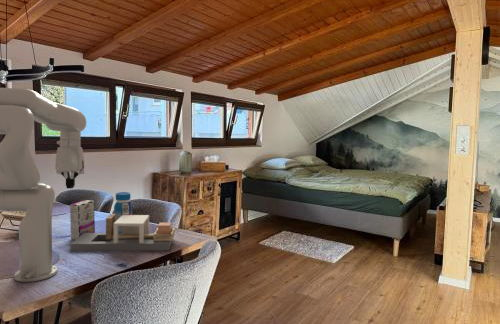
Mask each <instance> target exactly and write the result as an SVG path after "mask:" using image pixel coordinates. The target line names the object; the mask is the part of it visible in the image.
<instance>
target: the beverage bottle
mask: <svg viewBox="0 0 500 324" xmlns="http://www.w3.org/2000/svg"><path fill="white" fill-rule="evenodd" d="M130 200H131V192H127V191H122V192H120V191H119V192H115V204H114V206H113V208H114V210H113V214H116V221H117V220H118V219H119V218H120V217H121V216H122V215H133V209H132V206H133V205H132V203H131V202H130ZM118 233H122V226H118Z"/></svg>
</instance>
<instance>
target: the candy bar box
mask: <svg viewBox="0 0 500 324" xmlns="http://www.w3.org/2000/svg"><path fill="white" fill-rule="evenodd" d="M69 214H70V215H69V217H70V218H69V219H70V240H73V241H75V240H76V239H77V238H78V237H80V236H81V235H82V234H83V233H96V230H95V229H96V228H95V227H96V226H95V225H96V224H95V223H96V221H95V200H91V199H89V200H88V199H84V200H82V201H78V202H75V203H71V204H70V205H69Z"/></svg>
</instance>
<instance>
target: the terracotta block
mask: <svg viewBox="0 0 500 324" xmlns="http://www.w3.org/2000/svg"><path fill="white" fill-rule="evenodd" d="M157 228H158V234H171V228H172V222H159V223H158V225H157Z"/></svg>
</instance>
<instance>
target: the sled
mask: <svg viewBox="0 0 500 324" xmlns="http://www.w3.org/2000/svg"><path fill="white" fill-rule="evenodd" d="M115 222H116V214H114V213H110V214H109V215H108V216H107V217H106V218H105V233H106V239H111V238H114V223H115ZM175 229H176V228H175V227H171V234H158V227H157V228H156V229H155V231H154V232H153V233H154V234H144V238H154V241H172V240H174V238H175V234H176V232H175V231H176V230H175ZM118 238H139V234H118ZM172 242H173V241H172Z"/></svg>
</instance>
